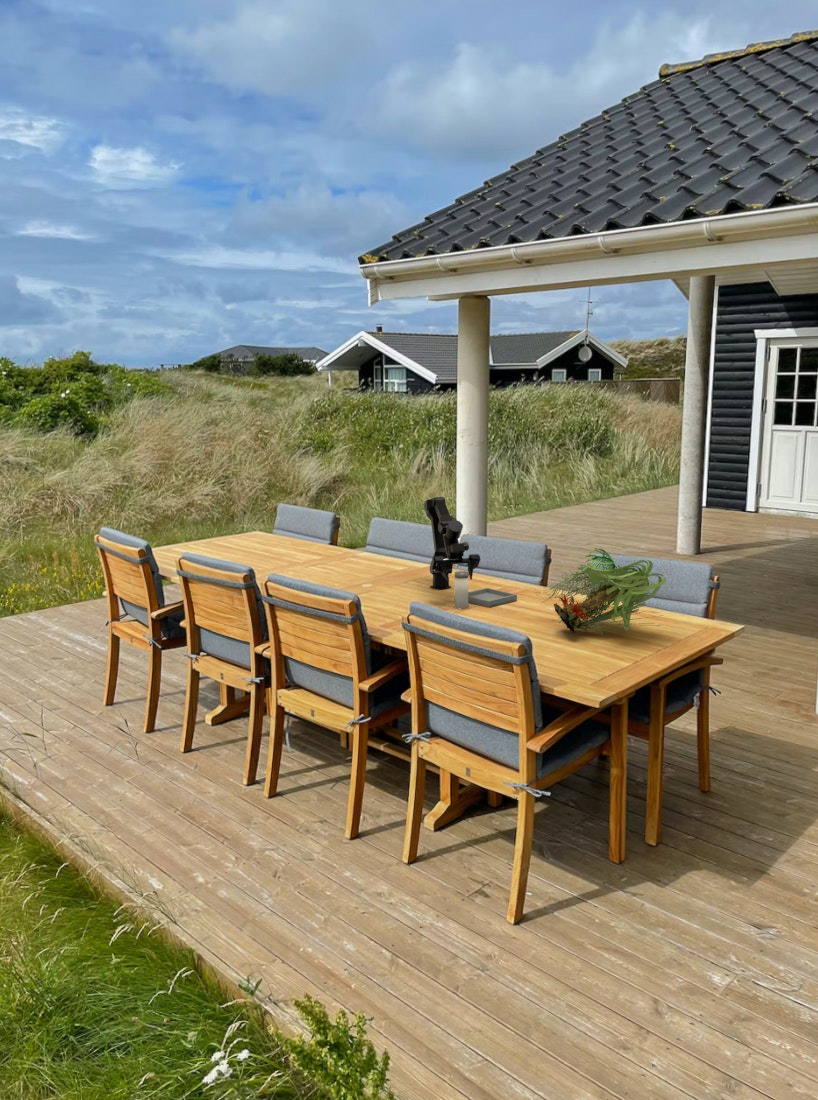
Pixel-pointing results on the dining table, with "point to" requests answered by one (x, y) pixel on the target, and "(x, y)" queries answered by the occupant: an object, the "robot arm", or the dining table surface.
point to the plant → (605, 593)
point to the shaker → (461, 589)
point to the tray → (490, 597)
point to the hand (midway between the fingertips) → (459, 579)
